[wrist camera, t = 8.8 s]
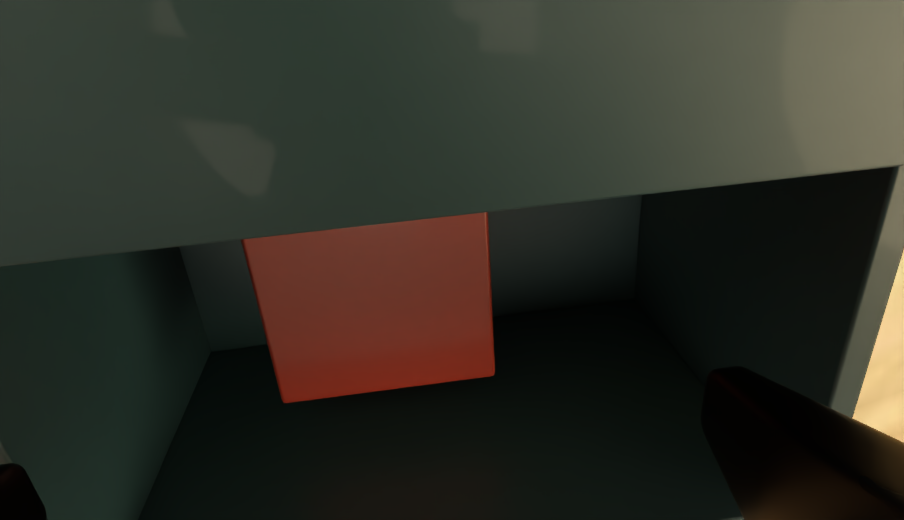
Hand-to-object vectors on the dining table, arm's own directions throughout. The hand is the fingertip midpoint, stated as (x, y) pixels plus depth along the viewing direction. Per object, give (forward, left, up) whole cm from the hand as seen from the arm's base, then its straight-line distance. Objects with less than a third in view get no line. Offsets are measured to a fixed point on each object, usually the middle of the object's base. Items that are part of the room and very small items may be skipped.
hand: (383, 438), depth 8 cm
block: (0, 0, -8) cm, 8 cm away
